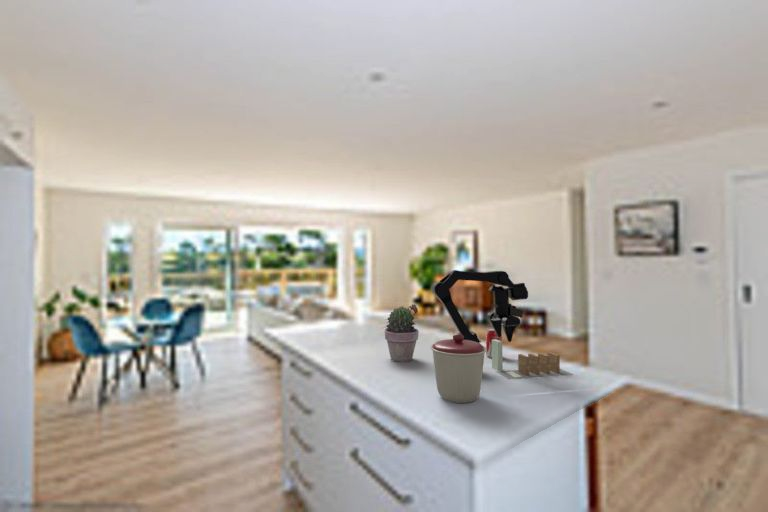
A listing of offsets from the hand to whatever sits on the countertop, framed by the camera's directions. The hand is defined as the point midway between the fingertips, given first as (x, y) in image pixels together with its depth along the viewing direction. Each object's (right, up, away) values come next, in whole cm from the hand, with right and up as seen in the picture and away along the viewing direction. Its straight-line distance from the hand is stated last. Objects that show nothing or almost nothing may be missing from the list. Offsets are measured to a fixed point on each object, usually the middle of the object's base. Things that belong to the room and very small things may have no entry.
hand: (504, 339), depth 152 cm
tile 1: (-3, -13, +1) cm, 13 cm away
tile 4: (+14, -12, -4) cm, 19 cm away
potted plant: (-42, -13, +18) cm, 48 cm away
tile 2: (+6, -12, -6) cm, 15 cm away
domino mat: (+10, -13, -5) cm, 17 cm away
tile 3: (+10, -12, -5) cm, 17 cm away
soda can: (+2, -13, +21) cm, 25 cm away
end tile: (+19, -12, -3) cm, 23 cm away
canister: (-25, -13, -30) cm, 41 cm away
